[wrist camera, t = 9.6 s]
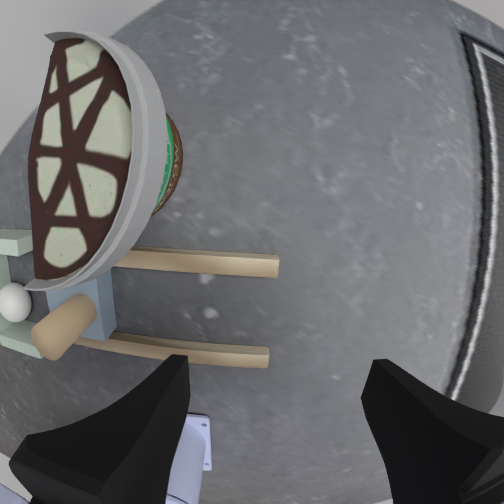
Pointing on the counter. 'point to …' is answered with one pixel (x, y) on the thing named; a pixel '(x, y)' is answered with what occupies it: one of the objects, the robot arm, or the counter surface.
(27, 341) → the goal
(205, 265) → the lane
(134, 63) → the food container
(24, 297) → the ball
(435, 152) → the counter surface
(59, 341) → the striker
